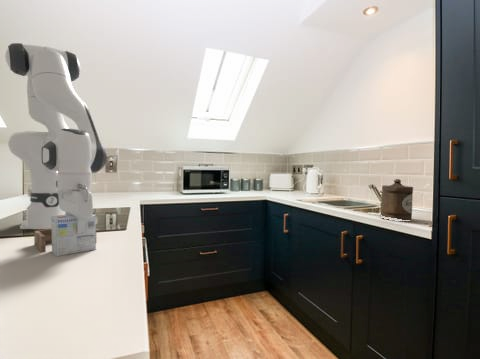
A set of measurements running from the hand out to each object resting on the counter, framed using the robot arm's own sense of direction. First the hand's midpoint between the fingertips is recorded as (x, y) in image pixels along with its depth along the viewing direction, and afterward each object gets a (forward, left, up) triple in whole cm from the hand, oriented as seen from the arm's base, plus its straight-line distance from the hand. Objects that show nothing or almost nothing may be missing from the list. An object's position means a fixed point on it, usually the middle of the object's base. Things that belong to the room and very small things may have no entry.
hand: (75, 228), depth 84 cm
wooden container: (+49, +143, -7) cm, 151 cm away
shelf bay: (-9, 0, -6) cm, 11 cm away
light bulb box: (0, 0, -7) cm, 7 cm away
